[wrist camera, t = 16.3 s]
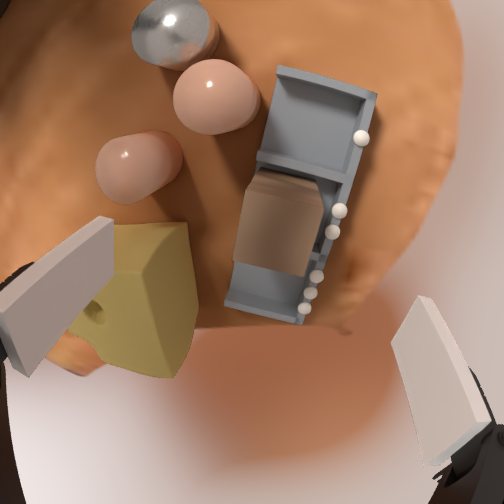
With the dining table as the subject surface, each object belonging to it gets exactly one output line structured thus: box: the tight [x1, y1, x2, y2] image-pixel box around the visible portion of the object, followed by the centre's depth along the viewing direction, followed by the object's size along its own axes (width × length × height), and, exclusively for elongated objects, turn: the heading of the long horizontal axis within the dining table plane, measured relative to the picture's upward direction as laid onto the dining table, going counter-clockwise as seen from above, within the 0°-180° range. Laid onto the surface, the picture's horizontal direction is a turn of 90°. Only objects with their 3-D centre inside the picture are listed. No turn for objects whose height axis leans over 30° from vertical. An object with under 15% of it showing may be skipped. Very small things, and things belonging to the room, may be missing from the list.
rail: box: [224, 65, 377, 325], centre depth 24 cm, size 21×8×3 cm, turn 168°
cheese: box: [67, 222, 199, 378], centre depth 25 cm, size 10×11×10 cm
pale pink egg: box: [173, 59, 261, 135], centre depth 20 cm, size 5×5×6 cm
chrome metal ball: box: [131, 0, 220, 71], centre depth 18 cm, size 6×6×4 cm
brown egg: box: [95, 131, 183, 205], centre depth 22 cm, size 5×5×6 cm
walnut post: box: [232, 167, 324, 277], centre depth 21 cm, size 4×4×8 cm
